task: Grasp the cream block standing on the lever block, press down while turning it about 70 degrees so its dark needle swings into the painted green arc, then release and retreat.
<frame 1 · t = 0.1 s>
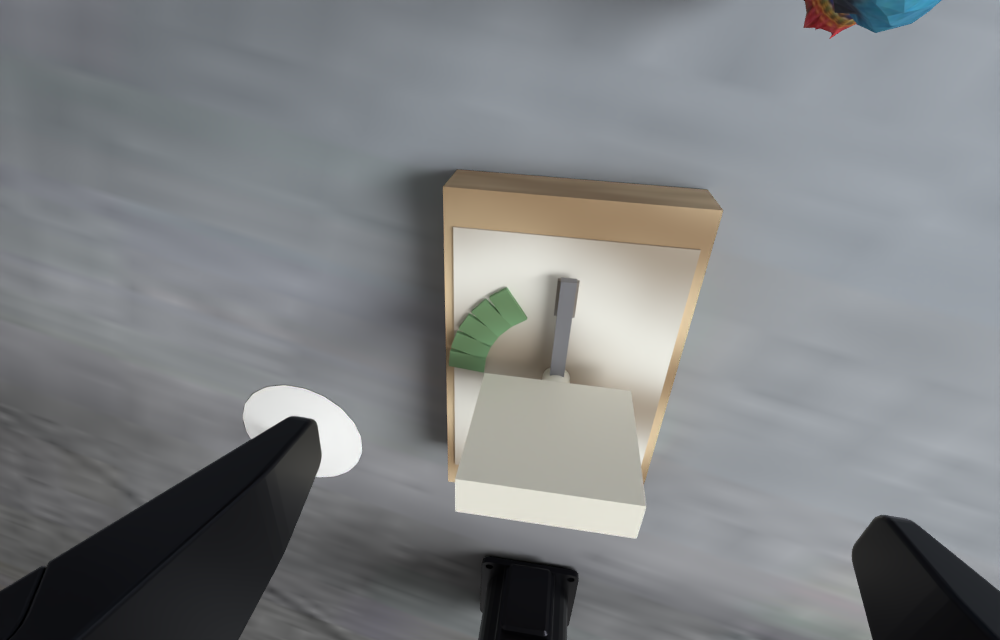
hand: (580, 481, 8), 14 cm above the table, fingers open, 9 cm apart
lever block: (558, 343, 24), on the table
wineglass: (304, 431, 30), on the table
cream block: (557, 390, 18), point 6 cm above the table, hinge at 0.0°
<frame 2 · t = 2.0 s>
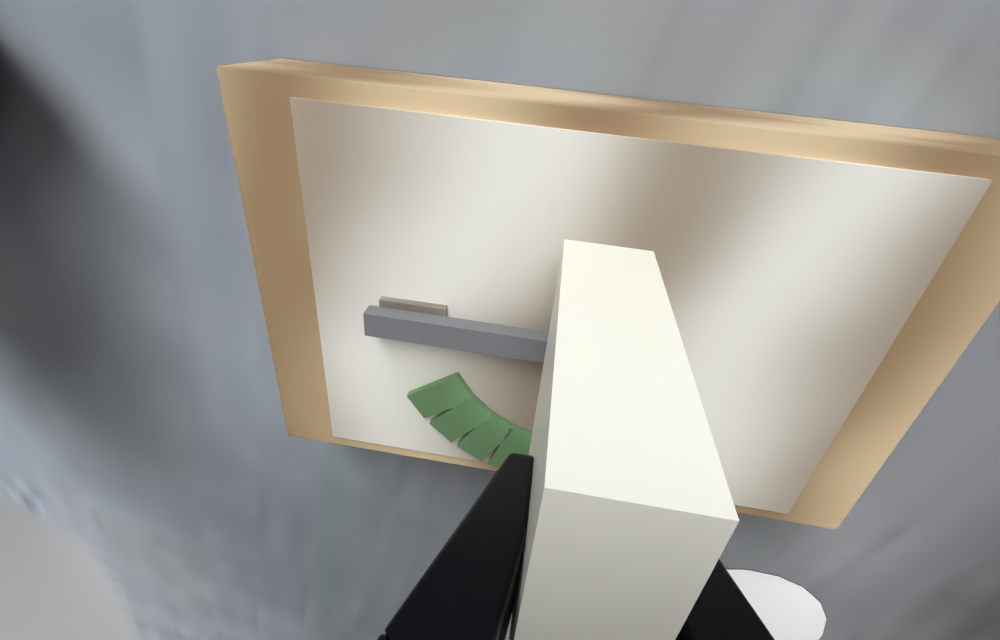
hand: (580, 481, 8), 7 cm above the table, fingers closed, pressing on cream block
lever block: (580, 289, 14), on the table
wineglass: (725, 618, 21), on the table
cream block: (461, 432, 9), point 6 cm above the table, hinge at 0.0°, touching gripper
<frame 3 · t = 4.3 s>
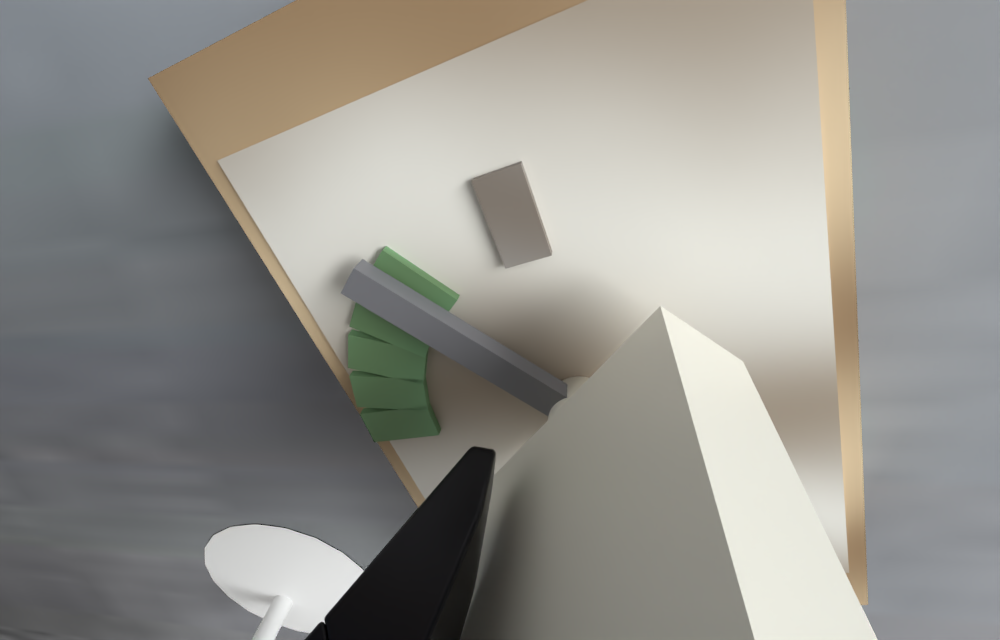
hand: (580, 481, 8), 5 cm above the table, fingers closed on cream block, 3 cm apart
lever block: (580, 330, 12), on the table
wineglass: (294, 579, 20), on the table
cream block: (452, 488, 7), point 6 cm above the table, hinge at 37.3°, touching gripper
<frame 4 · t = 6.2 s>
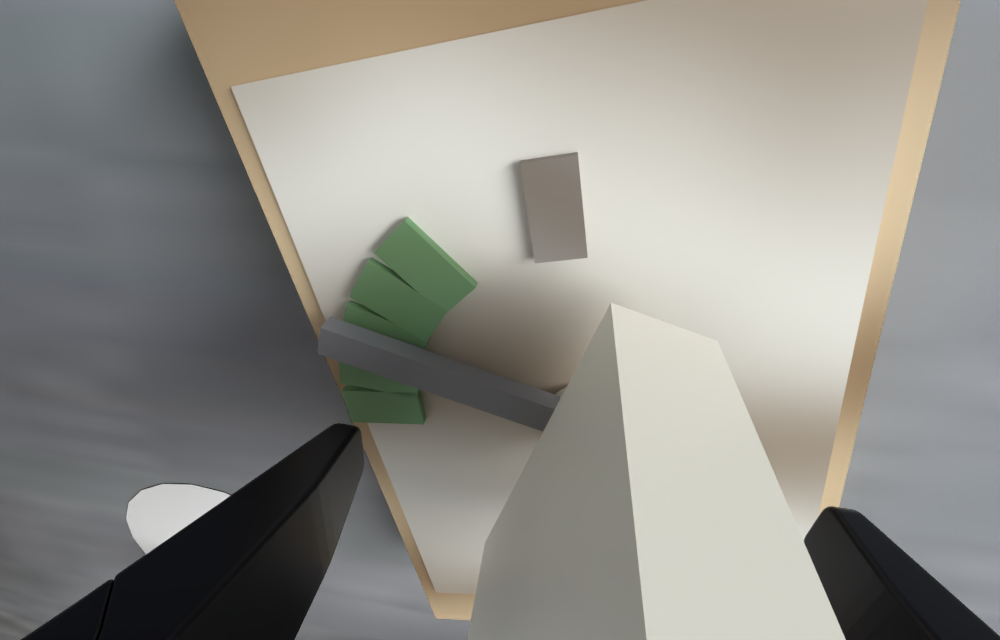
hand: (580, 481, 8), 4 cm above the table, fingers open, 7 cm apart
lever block: (580, 334, 12), on the table
wineglass: (224, 546, 19), on the table
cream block: (431, 531, 6), point 6 cm above the table, hinge at 61.8°
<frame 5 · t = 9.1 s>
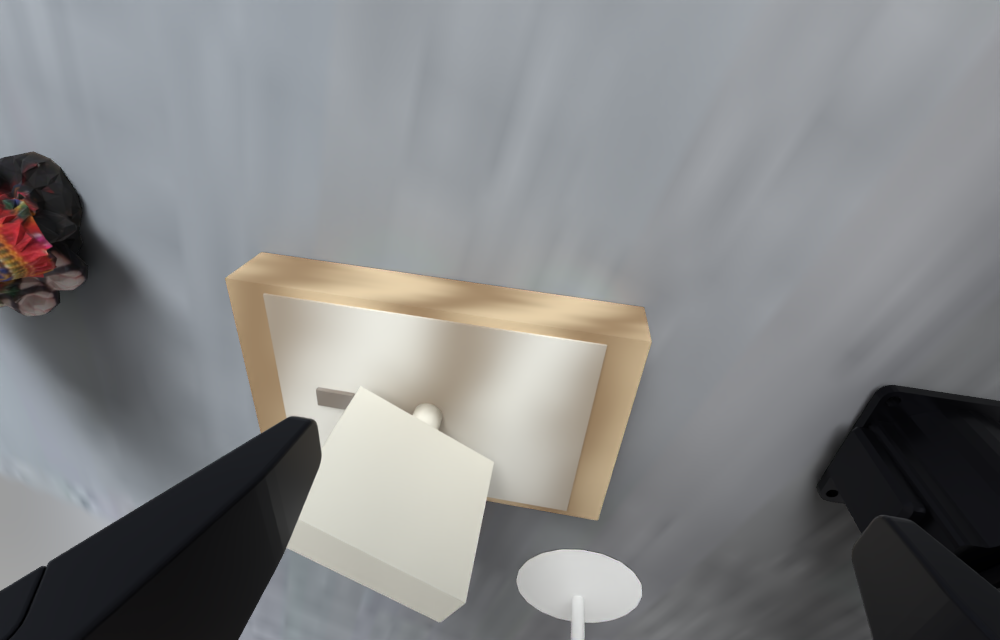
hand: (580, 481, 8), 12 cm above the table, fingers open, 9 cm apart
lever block: (443, 375, 23), on the table
wineglass: (578, 585, 30), on the table
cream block: (378, 508, 19), point 6 cm above the table, hinge at 62.1°
figurine: (57, 240, 22), on the table
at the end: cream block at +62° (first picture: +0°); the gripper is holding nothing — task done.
